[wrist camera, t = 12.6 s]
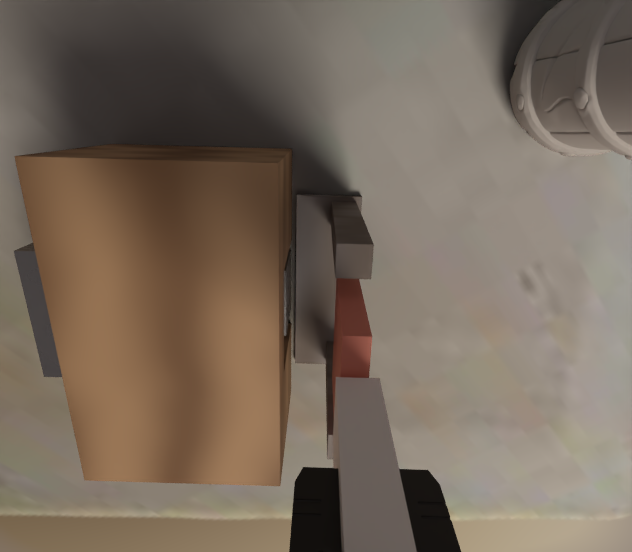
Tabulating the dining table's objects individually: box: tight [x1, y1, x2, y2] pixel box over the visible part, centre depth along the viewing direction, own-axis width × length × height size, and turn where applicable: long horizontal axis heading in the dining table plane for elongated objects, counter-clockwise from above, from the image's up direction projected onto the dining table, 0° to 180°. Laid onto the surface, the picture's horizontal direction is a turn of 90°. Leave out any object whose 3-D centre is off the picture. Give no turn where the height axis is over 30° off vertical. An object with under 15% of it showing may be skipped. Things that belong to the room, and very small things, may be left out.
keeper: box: [332, 278, 372, 413], centre depth 18 cm, size 1×6×6 cm, turn 178°
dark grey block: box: [14, 243, 291, 377], centre depth 24 cm, size 12×7×6 cm, turn 89°
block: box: [15, 144, 374, 486], centre depth 22 cm, size 14×16×9 cm
